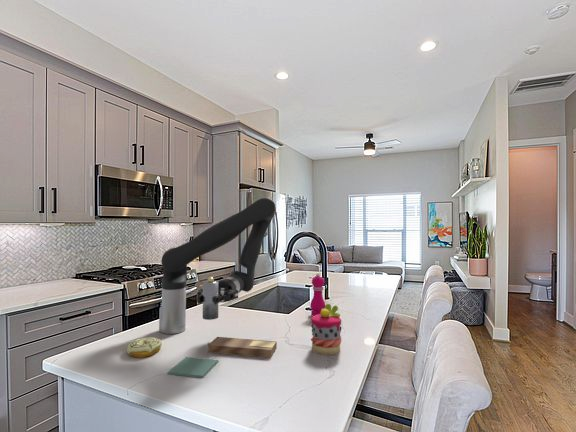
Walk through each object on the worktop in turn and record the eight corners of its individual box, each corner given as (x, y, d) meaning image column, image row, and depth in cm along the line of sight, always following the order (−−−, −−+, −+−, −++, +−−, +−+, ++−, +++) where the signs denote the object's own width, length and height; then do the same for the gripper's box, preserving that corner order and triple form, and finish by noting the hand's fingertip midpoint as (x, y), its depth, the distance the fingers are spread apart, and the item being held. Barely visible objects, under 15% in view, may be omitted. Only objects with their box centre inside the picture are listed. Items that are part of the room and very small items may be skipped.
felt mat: (167, 374, 95) (167, 372, 95) (186, 358, 106) (186, 356, 106) (202, 377, 93) (203, 375, 93) (218, 361, 104) (218, 359, 104)
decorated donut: (121, 359, 106) (121, 347, 106) (134, 346, 116) (134, 336, 116) (155, 358, 106) (155, 346, 106) (165, 346, 117) (165, 335, 117)
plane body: (207, 352, 111) (207, 344, 111) (217, 343, 119) (217, 336, 119) (271, 357, 107) (271, 349, 107) (276, 348, 115) (276, 340, 115)
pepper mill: (324, 317, 153) (324, 274, 154) (309, 316, 155) (309, 274, 155) (326, 313, 160) (326, 272, 161) (311, 312, 162) (311, 271, 162)
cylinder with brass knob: (200, 319, 101) (200, 278, 101) (206, 315, 106) (206, 275, 106) (214, 320, 100) (214, 278, 101) (220, 315, 105) (220, 276, 105)
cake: (339, 357, 108) (339, 311, 109) (307, 353, 111) (308, 308, 112) (343, 345, 118) (343, 303, 119) (314, 342, 121) (314, 301, 122)
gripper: (207, 277, 119) (185, 287, 102) (246, 279, 116) (229, 288, 99) (207, 298, 118) (185, 311, 102) (246, 300, 116) (229, 313, 99)
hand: (207, 300), depth 101 cm, fingers closed on cylinder with brass knob, 4 cm apart
